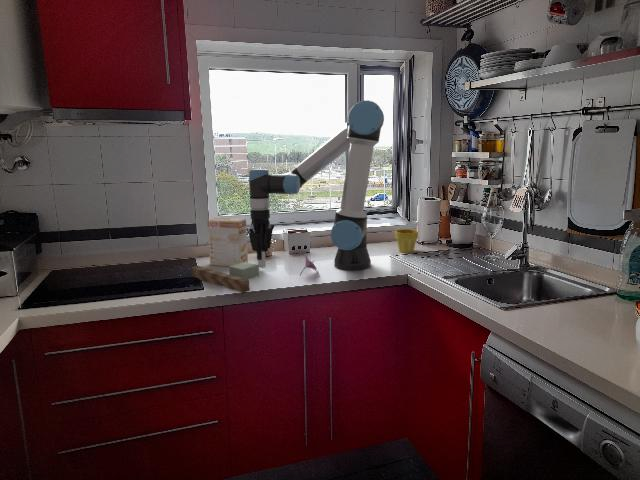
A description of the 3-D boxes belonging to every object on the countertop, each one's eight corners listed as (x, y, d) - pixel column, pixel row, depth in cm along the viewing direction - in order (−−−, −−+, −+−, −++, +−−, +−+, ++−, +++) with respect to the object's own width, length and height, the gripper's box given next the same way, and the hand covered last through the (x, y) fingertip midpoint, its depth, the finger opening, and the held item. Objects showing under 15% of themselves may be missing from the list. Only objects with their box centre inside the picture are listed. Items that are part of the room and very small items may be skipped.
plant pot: (400, 254, 204) (401, 233, 202) (391, 249, 214) (391, 229, 212) (421, 253, 207) (422, 232, 205) (411, 248, 217) (412, 228, 215)
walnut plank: (249, 290, 156) (249, 279, 155) (242, 292, 154) (242, 281, 153) (198, 275, 175) (197, 265, 174) (191, 277, 173) (190, 267, 172)
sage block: (259, 276, 174) (258, 265, 173) (243, 281, 168) (242, 269, 167) (245, 272, 179) (244, 261, 178) (229, 277, 173) (228, 266, 172)
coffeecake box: (248, 263, 192) (246, 218, 188) (240, 267, 185) (237, 221, 181) (219, 260, 197) (216, 217, 193) (209, 264, 191) (206, 219, 187)
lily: (313, 283, 166) (325, 260, 166) (286, 269, 169) (297, 247, 169) (319, 284, 178) (329, 262, 178) (293, 271, 180) (303, 249, 181)
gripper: (265, 206, 183) (267, 262, 188) (240, 209, 173) (243, 268, 178) (278, 207, 178) (280, 265, 183) (253, 211, 168) (256, 272, 173)
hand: (262, 267), depth 180 cm, fingers closed
